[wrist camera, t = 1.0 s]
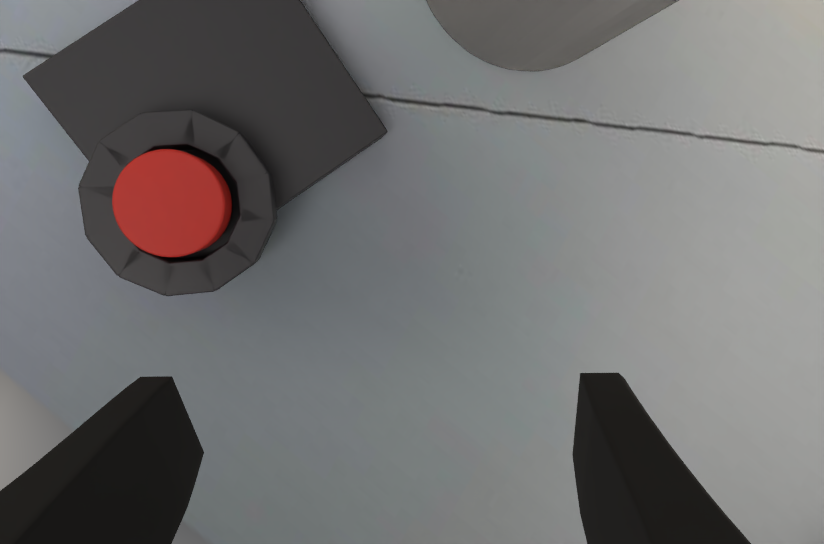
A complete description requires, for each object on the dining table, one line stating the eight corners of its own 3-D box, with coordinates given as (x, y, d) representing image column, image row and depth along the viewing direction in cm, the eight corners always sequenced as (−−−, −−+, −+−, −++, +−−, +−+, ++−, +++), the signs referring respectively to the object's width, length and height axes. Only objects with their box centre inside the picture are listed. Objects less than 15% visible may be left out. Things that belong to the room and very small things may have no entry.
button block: (182, 312, 25) (160, 329, 21) (15, 103, 23) (-38, 84, 19) (399, 161, 25) (412, 153, 22) (255, -54, 24) (244, -98, 20)
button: (171, 273, 21) (158, 278, 20) (106, 191, 21) (87, 189, 19) (252, 216, 22) (247, 217, 20) (191, 133, 21) (180, 127, 19)
